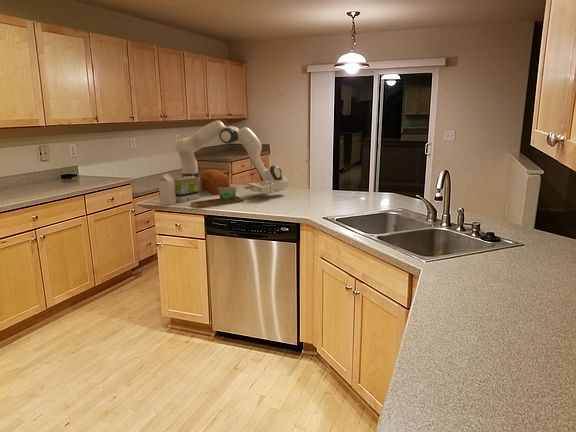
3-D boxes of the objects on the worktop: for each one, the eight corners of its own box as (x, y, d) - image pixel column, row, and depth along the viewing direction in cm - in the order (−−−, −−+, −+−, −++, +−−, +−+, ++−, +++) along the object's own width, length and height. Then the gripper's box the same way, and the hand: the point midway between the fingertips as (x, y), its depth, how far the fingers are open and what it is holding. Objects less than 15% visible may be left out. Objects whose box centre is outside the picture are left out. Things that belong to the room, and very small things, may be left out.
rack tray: (191, 205, 268) (190, 202, 267) (236, 199, 284) (236, 196, 284) (197, 208, 259) (197, 205, 259) (243, 201, 276) (243, 198, 275)
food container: (219, 203, 271) (218, 188, 269) (218, 201, 277) (217, 186, 275) (238, 202, 274) (238, 187, 272) (237, 200, 280) (236, 185, 278)
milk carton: (176, 202, 275) (173, 173, 270) (170, 205, 268) (167, 175, 264) (166, 202, 277) (163, 173, 272) (160, 204, 270) (157, 174, 266)
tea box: (182, 202, 276) (180, 179, 273) (172, 200, 282) (170, 178, 278) (199, 198, 288) (198, 176, 284) (190, 196, 294) (188, 175, 290)
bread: (215, 186, 332) (214, 166, 328) (231, 193, 304) (230, 171, 301) (198, 188, 325) (196, 167, 321) (213, 195, 298) (212, 173, 294)
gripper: (258, 179, 297) (240, 181, 289) (274, 184, 280) (255, 186, 273) (258, 188, 298) (241, 191, 291) (274, 193, 282) (255, 196, 274)
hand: (248, 188), depth 282 cm, fingers open, 8 cm apart
